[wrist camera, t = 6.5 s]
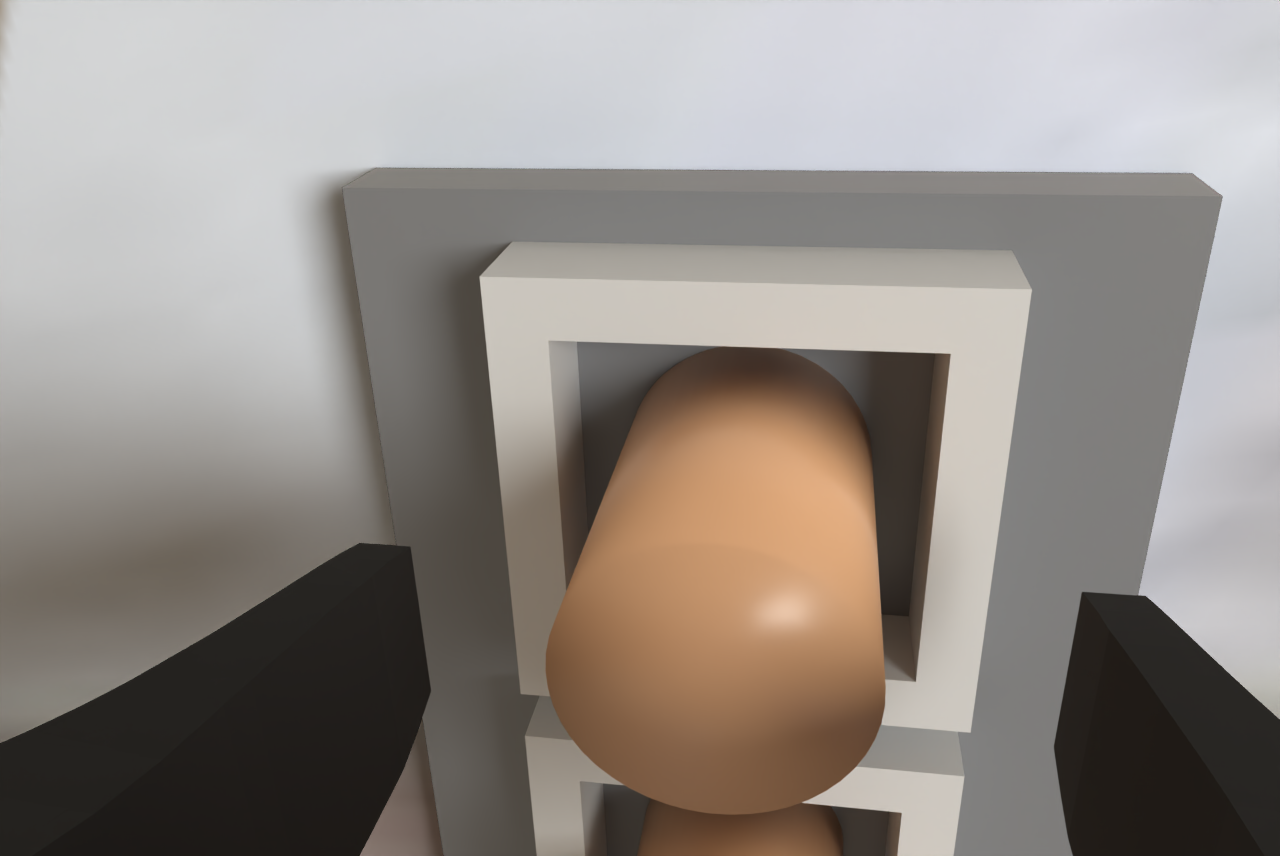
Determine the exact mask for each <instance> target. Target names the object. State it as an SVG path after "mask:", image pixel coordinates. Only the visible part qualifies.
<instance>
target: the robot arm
mask: <svg viewBox="0 0 1280 856" xmlns="http://www.w3.org/2000/svg"><path fill="white" fill-rule="evenodd" d="M430 693H431V686H430V679H429V672H428V665H427V658H426V651H425V644H424V637H423V630H422V623H421V616H420V609H419V602H418V595H417V588H416V581H415V574H414V567H413V560H412V553H411V547H410V546H395V545H381V544H366V543H359V544H357V545H355V546H353V547H352V548H350V549H348V550H346V551H344V552H342V553H341V554H339V555H337V556H335V557H334V558H332V559H330V560H329V561H327V562H325V563H324V564H322V565H320V566H319V567H317V568H316V569H314V570H312V571H311V572H309V573H308V574H306V575H304V576H303V577H301V578H300V579H298V580H296V581H295V582H293V583H292V584H290V585H289V586H287V587H285V588H284V589H282V590H281V591H279V592H278V593H276V594H274V595H273V596H271V597H270V598H268V599H266V600H265V601H263V602H262V603H260V604H258V605H257V606H255V607H254V608H252V609H250V610H249V611H247V612H246V613H244V614H242V615H241V616H239V617H238V618H236V619H234V620H233V621H231V622H230V623H228V624H226V625H225V626H223V627H222V628H220V629H218V630H217V631H215V632H214V633H212V634H210V635H209V636H207V637H205V638H203V639H202V640H200V641H198V642H196V643H195V644H193V645H191V646H189V647H188V648H186V649H184V650H182V651H181V652H179V653H177V654H175V655H174V656H172V657H170V658H168V659H167V660H165V661H163V662H161V663H160V664H158V665H156V666H155V667H153V668H151V669H149V670H148V671H146V672H144V673H142V674H141V675H139V676H137V677H135V678H134V679H132V680H130V681H128V682H126V683H125V684H123V685H121V686H119V687H117V688H115V689H113V690H111V691H109V692H108V693H106V694H104V695H102V696H100V697H98V698H96V699H94V700H92V701H90V702H88V703H86V704H84V705H82V706H80V707H78V708H76V709H74V710H72V711H70V712H67V713H65V714H63V715H61V716H59V717H57V718H55V719H53V720H51V721H48V722H46V723H44V724H42V725H40V726H38V727H36V728H34V729H32V730H29V731H27V732H25V733H23V734H21V735H18V736H16V737H14V738H12V739H9V740H7V741H5V742H2V743H0V856H360V854H361V852H362V850H363V848H364V846H365V844H366V842H367V840H368V838H369V837H370V835H371V833H372V831H373V829H374V827H375V825H376V823H377V821H378V819H379V817H380V815H381V813H382V811H383V809H384V807H385V805H386V803H387V801H388V799H389V797H390V796H391V794H392V792H393V790H394V788H395V786H396V784H397V782H398V780H399V778H400V776H401V773H402V771H403V769H404V767H405V764H406V761H407V759H408V756H409V753H410V751H411V748H412V745H413V743H414V740H415V737H416V735H417V732H418V729H419V726H420V723H421V720H422V717H423V714H424V711H425V708H426V705H427V702H428V699H429V696H430ZM1054 753H1055V760H1056V767H1057V773H1058V780H1059V787H1060V794H1061V800H1062V806H1063V812H1064V818H1065V824H1066V830H1067V836H1068V840H1069V844H1070V847H1071V851H1072V854H1073V856H1280V719H1278V718H1277V717H1276V716H1275V715H1274V714H1273V713H1272V712H1271V711H1270V710H1268V709H1267V708H1266V707H1265V706H1264V705H1263V704H1262V703H1261V702H1259V701H1258V700H1257V699H1256V698H1255V697H1254V696H1253V695H1252V694H1251V693H1250V692H1248V691H1247V690H1246V689H1245V688H1244V687H1243V686H1242V685H1241V684H1240V683H1239V682H1238V681H1237V680H1235V679H1234V678H1233V677H1232V676H1231V675H1230V674H1229V673H1228V672H1227V671H1226V670H1225V669H1224V668H1223V667H1222V666H1220V665H1219V664H1218V663H1217V662H1216V661H1215V660H1214V659H1213V658H1212V657H1211V656H1210V655H1209V654H1208V653H1207V652H1206V651H1204V650H1203V649H1202V648H1201V647H1200V646H1199V645H1198V644H1197V643H1196V642H1195V641H1194V640H1193V639H1192V638H1191V637H1190V636H1189V635H1188V634H1187V633H1185V632H1184V631H1183V630H1182V629H1181V628H1180V627H1179V626H1178V625H1177V624H1176V623H1175V622H1174V621H1173V620H1172V619H1171V618H1170V617H1169V616H1167V615H1166V614H1165V613H1164V612H1163V611H1162V610H1161V609H1160V608H1159V607H1158V606H1156V605H1155V604H1154V603H1153V602H1152V601H1151V600H1150V599H1149V598H1147V597H1146V596H1139V595H1124V594H1109V593H1094V592H1082V594H1081V600H1080V605H1079V611H1078V616H1077V621H1076V627H1075V632H1074V638H1073V643H1072V649H1071V654H1070V660H1069V665H1068V671H1067V676H1066V682H1065V687H1064V693H1063V698H1062V704H1061V709H1060V715H1059V720H1058V726H1057V731H1056V737H1055V742H1054Z"/></svg>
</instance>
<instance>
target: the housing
mask: <svg viewBox="0 0 1280 856" xmlns="http://www.w3.org/2000/svg"><path fill="white" fill-rule="evenodd" d="M342 192H343V198H344V205H345V211H346V218H347V225H348V231H349V238H350V244H351V251H352V258H353V264H354V271H355V277H356V284H357V290H358V297H359V304H360V310H361V317H362V323H363V330H364V336H365V343H366V350H367V356H368V363H369V369H370V376H371V382H372V389H373V396H374V402H375V409H376V415H377V422H378V428H379V435H380V442H381V448H382V455H383V461H384V468H385V474H386V481H387V488H388V494H389V501H390V507H391V514H392V520H393V527H394V534H395V540H396V546H410V547H411V553H412V560H413V567H414V574H415V581H416V588H417V595H418V602H419V609H420V616H421V623H422V630H423V637H424V644H425V651H426V658H427V665H428V672H429V679H430V686H431V693H430V696H429V699H428V702H427V705H426V708H425V711H424V714H423V717H422V718H423V724H424V731H425V737H426V744H427V751H428V757H429V764H430V770H431V777H432V783H433V790H434V797H435V803H436V810H437V816H438V823H439V829H440V836H441V843H442V849H443V856H637V853H638V848H639V843H640V838H641V834H642V829H643V824H644V819H645V814H646V810H647V807H648V804H649V802H650V800H651V798H649V797H647V796H644V795H642V794H640V793H638V792H636V791H634V790H632V789H630V788H628V787H627V786H625V785H624V784H622V783H620V782H619V781H617V780H615V779H614V778H612V777H611V776H610V775H608V774H607V773H606V772H604V771H603V770H602V769H601V768H599V767H598V766H597V765H596V764H595V763H593V762H592V761H591V760H590V759H589V758H588V757H587V756H586V755H585V754H584V753H583V752H582V751H581V749H580V748H579V747H578V746H577V745H576V743H575V742H574V741H573V740H572V738H571V737H570V736H569V734H568V733H567V731H566V729H565V728H564V726H563V725H562V723H561V721H560V719H559V717H558V715H557V713H556V711H555V708H554V706H553V704H552V700H551V697H550V694H549V690H548V685H547V678H546V671H545V669H546V650H547V644H548V639H549V635H550V632H551V630H552V627H553V624H554V621H555V619H556V616H557V614H558V611H559V609H560V606H561V603H562V601H563V598H564V596H565V593H566V591H567V588H568V586H569V583H570V581H571V578H572V576H573V573H574V570H575V568H576V565H577V563H578V560H579V558H580V555H581V553H582V550H583V548H584V545H585V543H586V540H587V537H588V535H589V532H590V530H591V527H592V525H593V522H594V520H595V517H596V515H597V512H598V509H599V507H600V504H601V502H602V499H603V497H604V494H605V492H606V489H607V487H608V484H609V482H610V479H611V476H612V474H613V471H614V469H615V466H616V464H617V461H618V459H619V456H620V454H621V451H622V449H623V446H624V443H625V441H626V438H627V436H628V433H629V431H630V428H631V426H632V423H633V421H634V418H635V415H636V413H637V410H638V408H639V406H640V404H641V402H642V401H643V399H644V397H645V395H646V394H647V392H648V391H649V390H650V388H651V387H652V386H653V384H654V383H655V382H656V381H657V380H658V379H659V378H660V377H661V376H662V375H663V374H664V373H666V372H667V371H668V370H670V369H671V368H672V367H674V366H675V365H676V364H678V363H680V362H681V361H683V360H685V359H687V358H688V357H690V356H693V355H695V354H698V353H700V352H703V351H706V350H709V349H713V348H717V347H721V346H731V347H761V348H779V349H783V350H787V351H790V352H792V353H795V354H798V355H800V356H803V357H804V358H806V359H808V360H810V361H812V362H814V363H816V364H817V365H819V366H820V367H822V368H823V369H825V370H826V371H827V372H829V373H830V374H831V375H832V376H833V377H835V378H836V379H837V380H838V381H839V382H840V383H841V384H842V385H843V386H844V387H845V389H846V390H847V391H848V392H849V393H850V395H851V396H852V397H853V399H854V400H855V402H856V404H857V405H858V407H859V408H860V411H861V413H862V415H863V417H864V420H865V422H866V425H867V429H868V432H869V436H870V443H871V450H872V467H873V483H874V500H875V517H876V534H877V550H878V567H879V584H880V600H881V617H882V634H883V651H884V667H885V684H886V694H885V709H884V713H883V718H882V723H881V726H880V728H879V731H878V733H877V736H876V738H875V741H874V742H873V744H872V746H871V747H870V749H869V751H868V752H867V754H866V755H865V757H864V758H863V759H862V760H861V761H860V763H859V764H858V765H857V766H856V767H855V769H854V770H852V771H851V772H850V773H849V774H848V775H847V776H846V777H845V778H844V779H842V780H841V781H840V782H839V783H837V784H836V785H834V786H833V787H831V788H830V789H828V790H827V791H825V792H823V793H821V794H819V795H817V796H815V797H813V798H811V799H809V800H807V801H804V802H802V803H809V804H819V805H829V806H831V807H832V809H833V810H834V812H835V814H836V816H837V818H838V820H839V823H840V825H841V829H842V834H843V856H1073V854H1072V851H1071V847H1070V844H1069V840H1068V836H1067V830H1066V824H1065V818H1064V812H1063V806H1062V800H1061V794H1060V787H1059V780H1058V773H1057V767H1056V760H1055V753H1054V742H1055V737H1056V731H1057V726H1058V720H1059V715H1060V709H1061V704H1062V698H1063V693H1064V687H1065V682H1066V676H1067V671H1068V665H1069V660H1070V654H1071V649H1072V643H1073V638H1074V632H1075V627H1076V621H1077V616H1078V611H1079V605H1080V600H1081V594H1082V592H1094V593H1109V594H1124V595H1138V593H1139V588H1140V583H1141V579H1142V574H1143V569H1144V565H1145V560H1146V555H1147V550H1148V546H1149V541H1150V536H1151V532H1152V527H1153V522H1154V517H1155V513H1156V508H1157V503H1158V499H1159V494H1160V489H1161V484H1162V480H1163V475H1164V470H1165V466H1166V461H1167V456H1168V452H1169V447H1170V442H1171V437H1172V433H1173V428H1174V423H1175V419H1176V414H1177V409H1178V404H1179V400H1180V395H1181V390H1182V386H1183V381H1184V376H1185V371H1186V367H1187V362H1188V357H1189V353H1190V348H1191V343H1192V339H1193V334H1194V329H1195V324H1196V320H1197V315H1198V310H1199V306H1200V301H1201V296H1202V291H1203V287H1204V282H1205V277H1206V273H1207V268H1208V263H1209V258H1210V254H1211V249H1212V244H1213V240H1214V235H1215V230H1216V225H1217V221H1218V216H1219V211H1220V207H1221V202H1222V197H1223V196H1222V195H1220V194H1219V193H1218V192H1216V191H1215V190H1214V189H1212V188H1211V187H1210V186H1208V185H1207V184H1206V183H1204V182H1203V181H1202V180H1200V179H1199V178H1198V177H1196V176H1195V175H1194V174H1192V173H1066V172H917V171H769V170H621V169H473V168H375V169H373V170H371V171H370V172H368V173H366V174H364V175H363V176H361V177H359V178H358V179H356V180H354V181H352V182H351V183H349V184H347V185H346V186H344V187H342Z"/></svg>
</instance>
